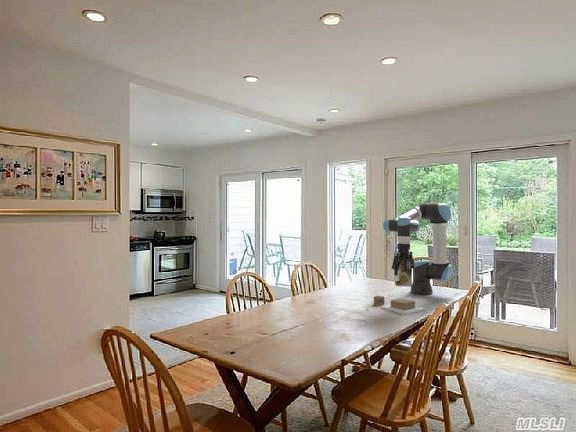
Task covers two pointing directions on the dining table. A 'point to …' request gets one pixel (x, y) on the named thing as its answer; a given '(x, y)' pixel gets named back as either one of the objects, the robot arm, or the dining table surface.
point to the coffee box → (405, 273)
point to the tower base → (417, 309)
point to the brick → (379, 300)
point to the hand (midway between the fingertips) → (403, 279)
